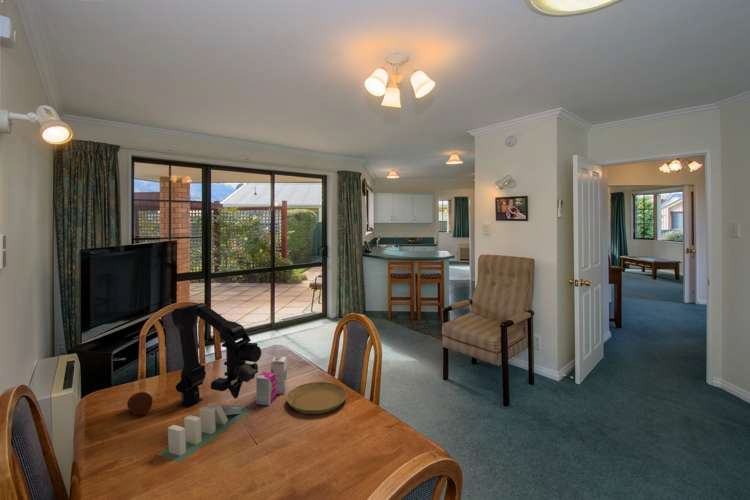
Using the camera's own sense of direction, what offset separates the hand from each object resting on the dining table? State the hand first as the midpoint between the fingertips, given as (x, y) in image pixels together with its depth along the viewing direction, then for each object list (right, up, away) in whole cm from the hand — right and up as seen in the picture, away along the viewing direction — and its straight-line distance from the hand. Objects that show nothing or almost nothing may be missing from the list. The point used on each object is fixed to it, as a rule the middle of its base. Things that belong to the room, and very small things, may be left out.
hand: (235, 397), depth 133 cm
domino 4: (-3, -6, -7) cm, 9 cm away
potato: (-37, -6, +1) cm, 38 cm away
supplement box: (+9, -6, +8) cm, 13 cm away
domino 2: (-7, -7, -18) cm, 20 cm away
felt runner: (-5, -7, -11) cm, 14 cm away
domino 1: (-9, -7, -23) cm, 26 cm away
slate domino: (0, -5, 0) cm, 5 cm away
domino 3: (-5, -6, -12) cm, 15 cm away
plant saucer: (+30, -6, +9) cm, 32 cm away
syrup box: (+12, -5, +18) cm, 22 cm away
